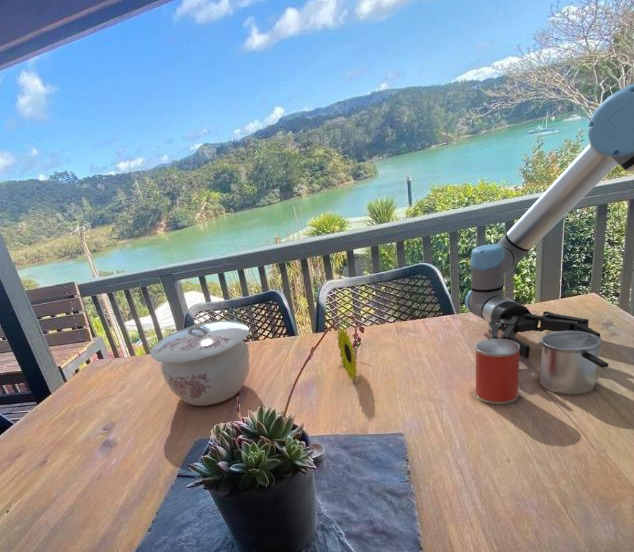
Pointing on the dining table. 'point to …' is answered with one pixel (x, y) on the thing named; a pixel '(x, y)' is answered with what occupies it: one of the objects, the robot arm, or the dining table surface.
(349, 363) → the decorative plant
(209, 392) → the chamber pot
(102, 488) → the dining table surface
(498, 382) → the tin can
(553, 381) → the steel pot
